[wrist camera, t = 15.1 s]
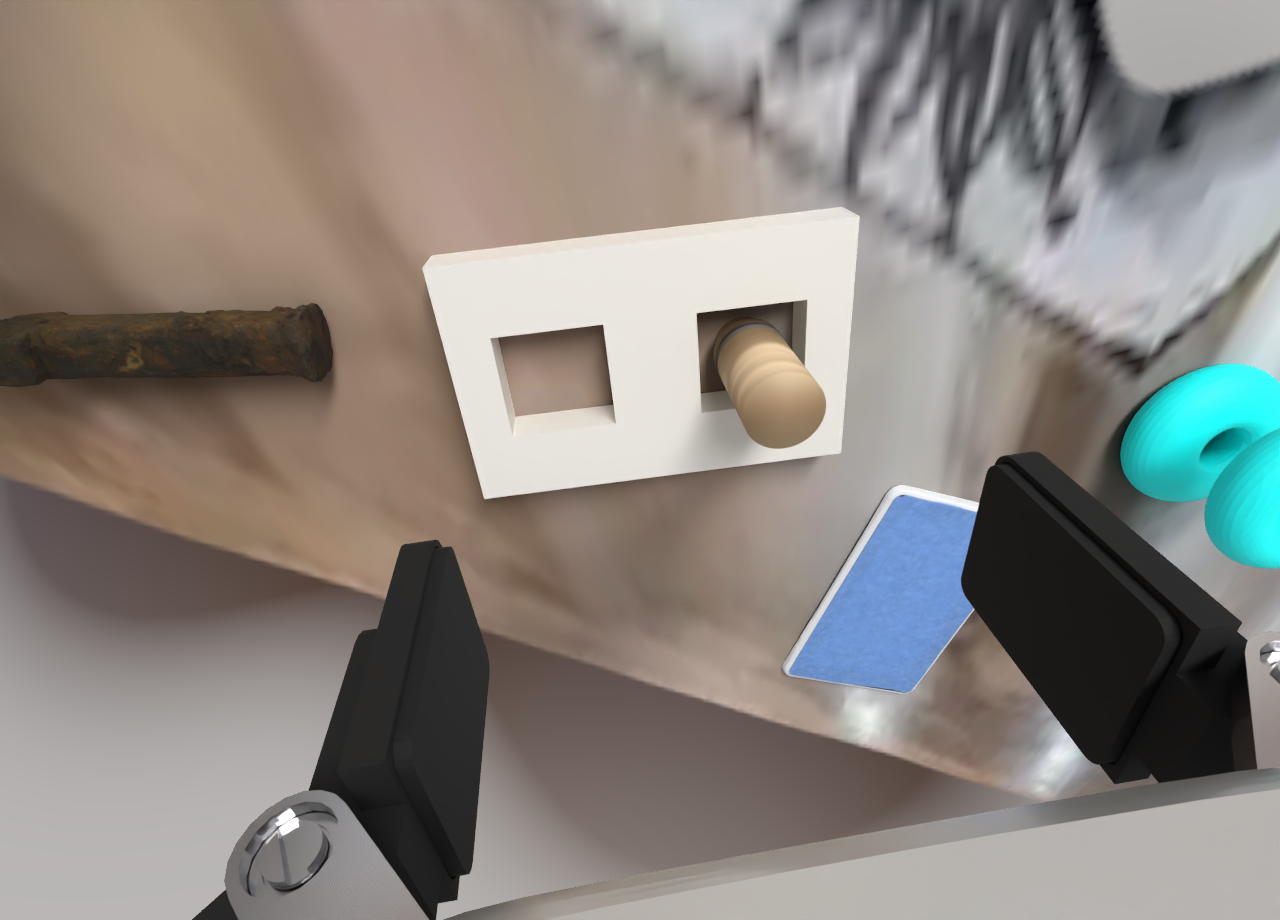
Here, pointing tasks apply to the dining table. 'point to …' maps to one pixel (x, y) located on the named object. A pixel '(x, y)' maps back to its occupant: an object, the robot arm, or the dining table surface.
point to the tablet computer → (892, 596)
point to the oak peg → (767, 384)
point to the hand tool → (165, 345)
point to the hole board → (641, 343)
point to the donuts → (1215, 455)
